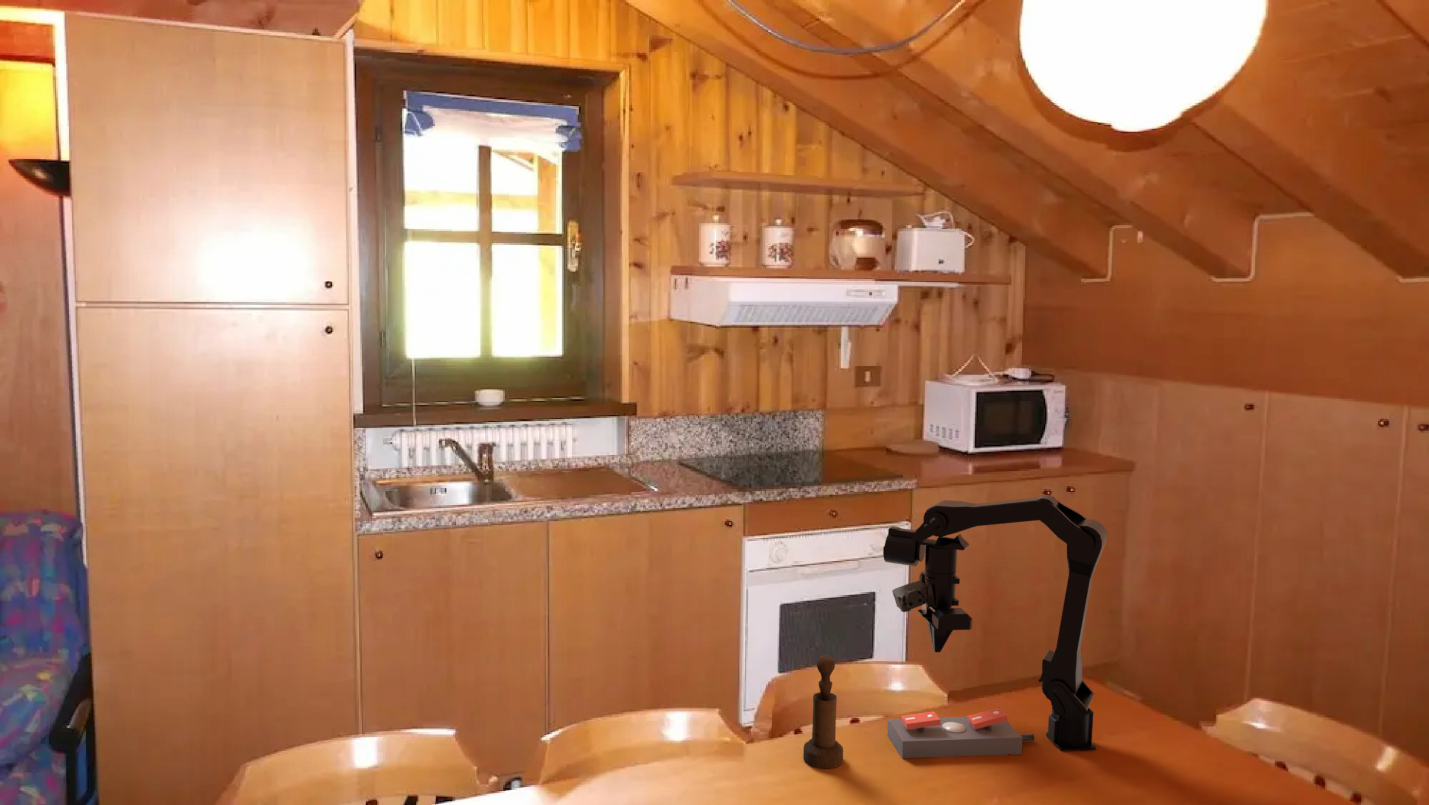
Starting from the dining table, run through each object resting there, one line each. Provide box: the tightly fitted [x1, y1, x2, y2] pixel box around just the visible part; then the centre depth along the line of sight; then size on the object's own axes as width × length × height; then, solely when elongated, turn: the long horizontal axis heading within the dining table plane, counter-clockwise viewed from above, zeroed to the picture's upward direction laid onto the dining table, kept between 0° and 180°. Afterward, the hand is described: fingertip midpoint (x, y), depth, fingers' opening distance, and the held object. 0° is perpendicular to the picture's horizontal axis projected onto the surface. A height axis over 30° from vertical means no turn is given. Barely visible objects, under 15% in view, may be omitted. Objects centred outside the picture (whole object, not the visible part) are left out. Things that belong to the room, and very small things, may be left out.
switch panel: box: [886, 716, 1035, 759], centre depth 177 cm, size 25×9×4 cm, turn 96°
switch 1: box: [900, 711, 941, 729], centre depth 176 cm, size 6×3×1 cm, turn 96°
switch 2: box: [966, 706, 1008, 729], centre depth 178 cm, size 6×3×1 cm, turn 96°
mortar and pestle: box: [802, 654, 844, 769], centre depth 170 cm, size 7×6×18 cm
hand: (937, 651), depth 189 cm, fingers closed
